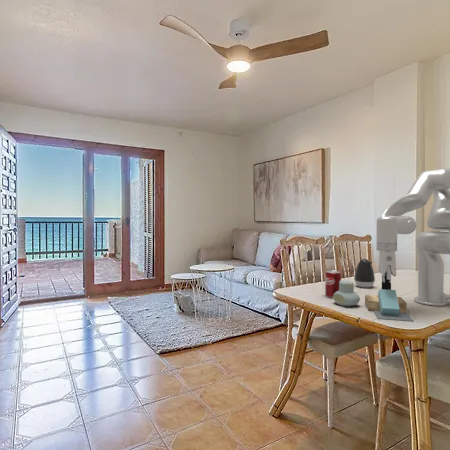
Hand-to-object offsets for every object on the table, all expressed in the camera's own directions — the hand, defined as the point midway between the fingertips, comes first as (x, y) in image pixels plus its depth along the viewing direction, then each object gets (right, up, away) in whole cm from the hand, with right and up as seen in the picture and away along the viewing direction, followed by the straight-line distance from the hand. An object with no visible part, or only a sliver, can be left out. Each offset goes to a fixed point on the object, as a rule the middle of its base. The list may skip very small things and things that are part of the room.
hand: (386, 292), depth 132 cm
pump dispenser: (+10, -6, +44) cm, 45 cm away
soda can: (-14, -7, +24) cm, 28 cm away
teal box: (-1, -5, -2) cm, 5 cm away
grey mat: (-1, -8, -7) cm, 10 cm away
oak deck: (+1, -8, +4) cm, 8 cm away
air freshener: (-13, -8, +10) cm, 18 cm away
